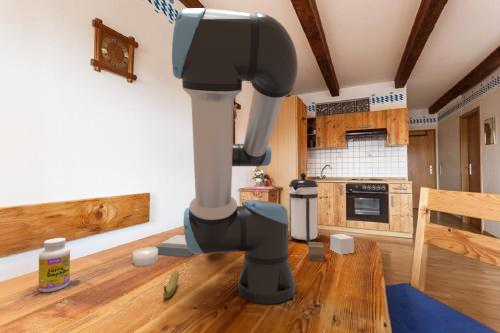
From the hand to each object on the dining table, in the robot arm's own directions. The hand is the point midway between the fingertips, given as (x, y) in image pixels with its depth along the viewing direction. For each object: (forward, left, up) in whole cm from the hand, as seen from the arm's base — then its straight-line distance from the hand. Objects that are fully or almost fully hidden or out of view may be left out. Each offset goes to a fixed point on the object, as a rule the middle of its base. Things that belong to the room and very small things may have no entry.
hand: (215, 245), depth 87 cm
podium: (+5, +16, -4) cm, 17 cm away
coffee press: (+29, -32, -4) cm, 43 cm away
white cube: (+15, -46, -4) cm, 48 cm away
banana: (-26, +2, -4) cm, 27 cm away
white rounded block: (-9, +22, -4) cm, 24 cm away
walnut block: (+6, -36, -4) cm, 36 cm away
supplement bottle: (-30, +35, -4) cm, 47 cm away
